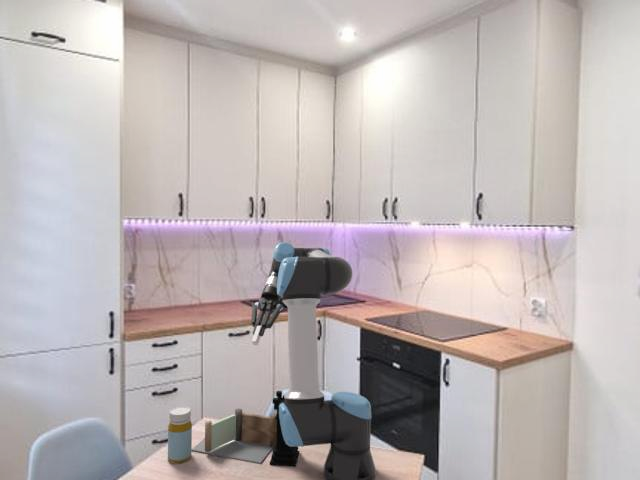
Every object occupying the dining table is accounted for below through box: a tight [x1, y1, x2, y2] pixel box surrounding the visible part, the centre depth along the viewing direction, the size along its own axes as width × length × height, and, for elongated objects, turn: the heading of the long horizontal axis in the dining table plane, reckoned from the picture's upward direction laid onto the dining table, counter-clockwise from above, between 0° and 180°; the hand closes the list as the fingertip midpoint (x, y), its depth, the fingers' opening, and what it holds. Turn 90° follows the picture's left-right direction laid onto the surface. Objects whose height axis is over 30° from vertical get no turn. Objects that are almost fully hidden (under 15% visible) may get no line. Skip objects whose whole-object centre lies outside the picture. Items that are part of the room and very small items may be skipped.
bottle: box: [167, 406, 193, 465], centre depth 137 cm, size 7×7×15 cm
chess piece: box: [269, 390, 301, 468], centre depth 138 cm, size 8×8×20 cm
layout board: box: [191, 437, 274, 465], centre depth 147 cm, size 24×16×1 cm, turn 74°
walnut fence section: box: [234, 408, 277, 447], centre depth 148 cm, size 15×2×10 cm, turn 74°
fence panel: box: [204, 413, 236, 452], centre depth 144 cm, size 12×2×9 cm, turn 141°
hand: (254, 343), depth 160 cm, fingers closed
